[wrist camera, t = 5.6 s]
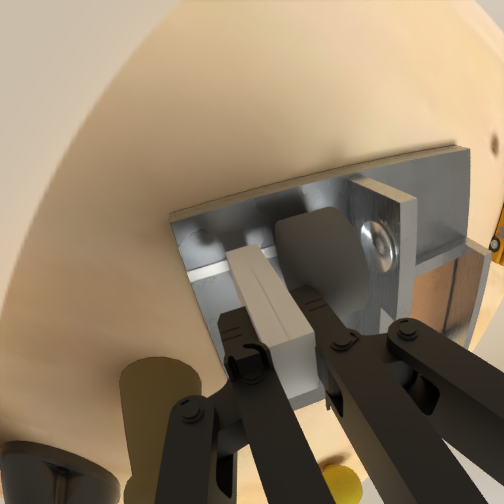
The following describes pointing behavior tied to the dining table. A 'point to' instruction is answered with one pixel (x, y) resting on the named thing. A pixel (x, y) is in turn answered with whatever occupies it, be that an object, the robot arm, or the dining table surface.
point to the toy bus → (498, 243)
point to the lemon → (343, 484)
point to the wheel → (324, 258)
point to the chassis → (370, 235)
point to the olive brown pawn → (151, 417)
